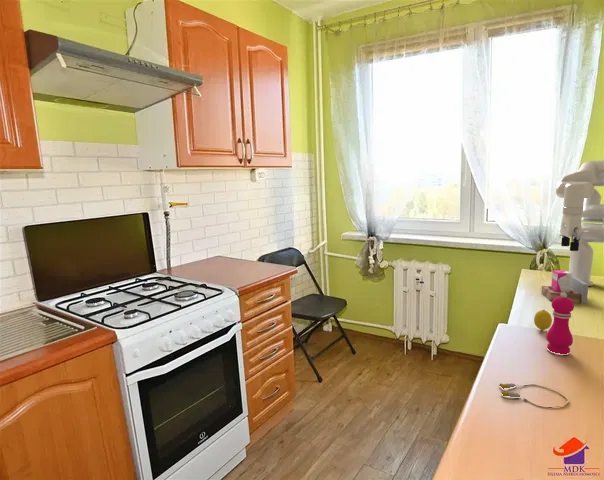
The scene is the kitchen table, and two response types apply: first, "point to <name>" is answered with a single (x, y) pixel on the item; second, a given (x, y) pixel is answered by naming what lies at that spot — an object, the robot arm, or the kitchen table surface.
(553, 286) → the supplement box
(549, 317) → the lemon
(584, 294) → the backstop wall
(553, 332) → the pepper mill
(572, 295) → the socket block
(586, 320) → the kitchen table surface
